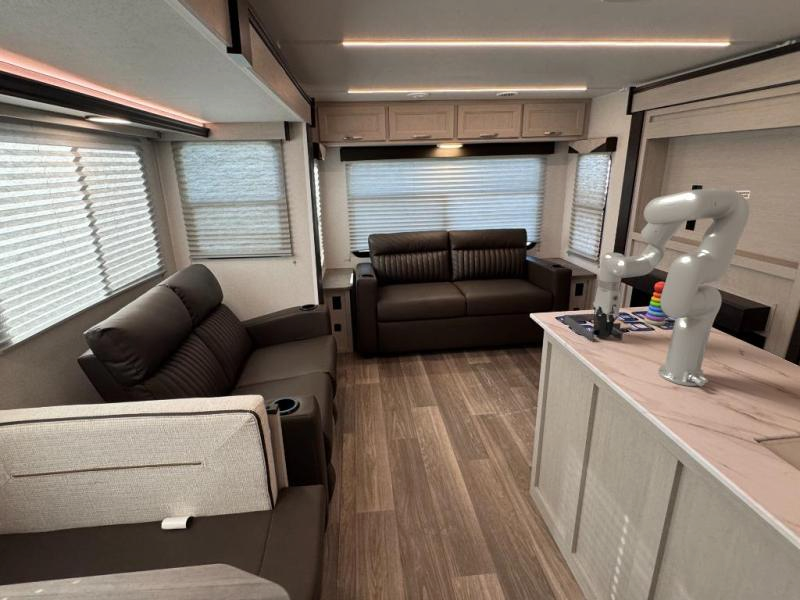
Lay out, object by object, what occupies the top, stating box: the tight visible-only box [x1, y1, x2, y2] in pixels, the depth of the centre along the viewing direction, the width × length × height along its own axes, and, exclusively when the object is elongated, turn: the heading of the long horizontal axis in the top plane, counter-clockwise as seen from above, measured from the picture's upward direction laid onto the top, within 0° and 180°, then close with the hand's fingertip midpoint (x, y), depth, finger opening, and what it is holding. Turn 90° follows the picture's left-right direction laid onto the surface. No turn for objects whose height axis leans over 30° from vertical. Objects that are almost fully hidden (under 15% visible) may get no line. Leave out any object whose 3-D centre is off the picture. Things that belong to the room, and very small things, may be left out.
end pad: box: [591, 318, 632, 330], centre depth 177 cm, size 10×12×1 cm
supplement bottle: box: [592, 306, 612, 338], centre depth 162 cm, size 7×7×12 cm
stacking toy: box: [643, 281, 667, 326], centre depth 176 cm, size 8×8×19 cm
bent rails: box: [562, 313, 624, 342], centre depth 172 cm, size 22×18×3 cm
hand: (602, 326), depth 163 cm, fingers closed on supplement bottle, 6 cm apart
